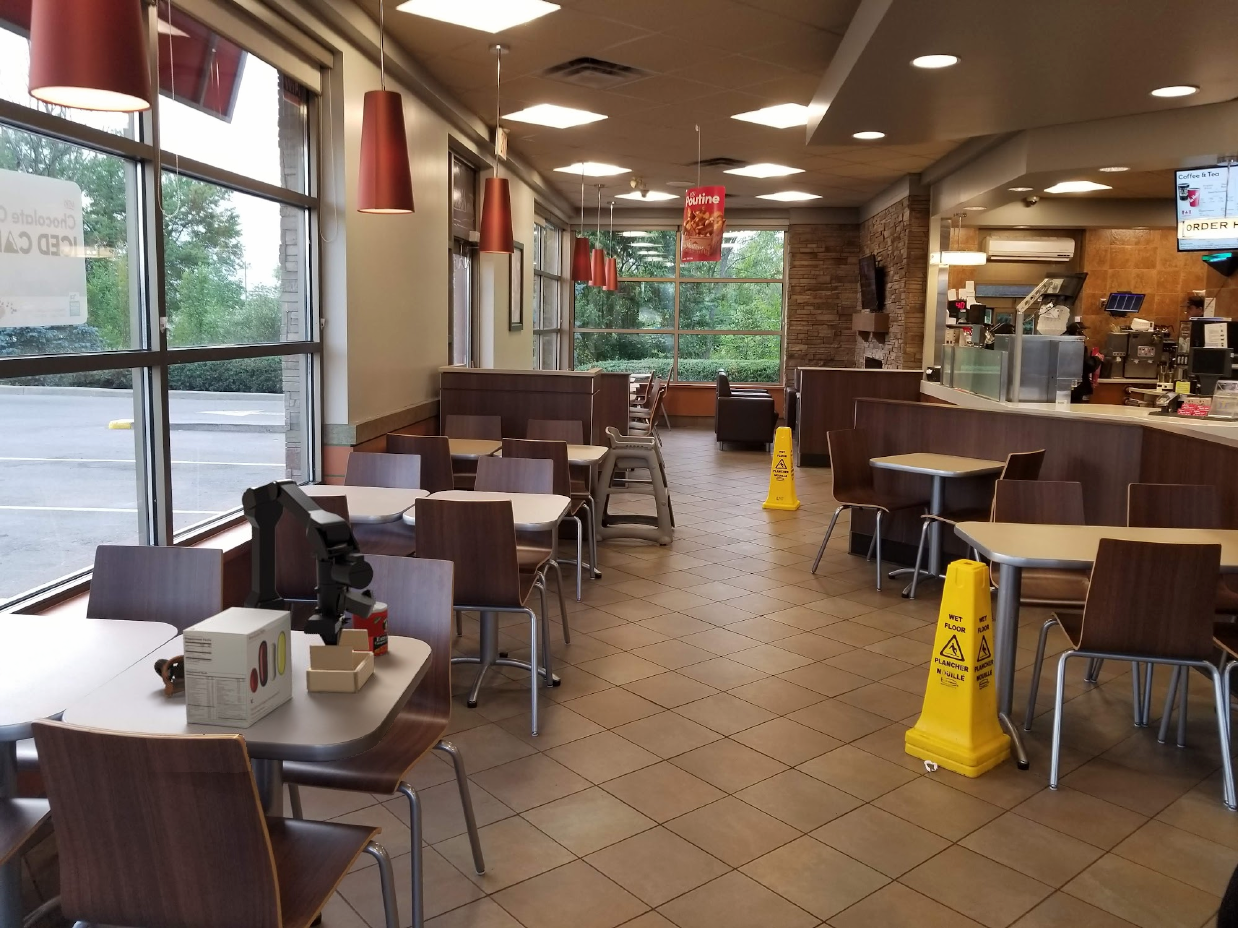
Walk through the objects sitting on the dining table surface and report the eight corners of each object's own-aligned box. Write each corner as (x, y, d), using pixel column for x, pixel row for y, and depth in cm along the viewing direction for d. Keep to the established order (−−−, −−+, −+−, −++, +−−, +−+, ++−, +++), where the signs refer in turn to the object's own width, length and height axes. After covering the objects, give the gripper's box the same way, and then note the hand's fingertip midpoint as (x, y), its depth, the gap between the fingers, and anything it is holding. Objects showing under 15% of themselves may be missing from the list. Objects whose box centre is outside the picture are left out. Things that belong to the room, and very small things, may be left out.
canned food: (379, 658, 223) (378, 611, 222) (347, 655, 225) (346, 608, 224) (394, 648, 231) (393, 602, 229) (362, 645, 232) (361, 600, 231)
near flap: (311, 667, 201) (310, 668, 201) (309, 644, 200) (309, 645, 200) (353, 668, 201) (352, 669, 201) (352, 645, 200) (351, 646, 200)
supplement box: (250, 729, 183) (246, 634, 180) (184, 723, 185) (180, 630, 182) (295, 696, 200) (292, 609, 197) (234, 691, 202) (231, 605, 199)
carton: (305, 692, 202) (305, 670, 201) (325, 670, 215) (325, 650, 214) (358, 693, 202) (357, 671, 201) (374, 671, 215) (374, 651, 214)
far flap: (326, 629, 212) (327, 628, 212) (329, 649, 214) (329, 648, 214) (366, 630, 212) (367, 629, 212) (368, 650, 213) (369, 649, 214)
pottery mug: (219, 684, 207) (216, 657, 202) (191, 717, 200) (186, 691, 195) (169, 665, 209) (164, 639, 204) (139, 698, 201) (133, 671, 196)
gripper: (359, 593, 191) (361, 671, 193) (382, 570, 209) (384, 641, 211) (301, 592, 191) (304, 670, 193) (330, 570, 210) (332, 641, 212)
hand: (333, 655), depth 202 cm, fingers closed
